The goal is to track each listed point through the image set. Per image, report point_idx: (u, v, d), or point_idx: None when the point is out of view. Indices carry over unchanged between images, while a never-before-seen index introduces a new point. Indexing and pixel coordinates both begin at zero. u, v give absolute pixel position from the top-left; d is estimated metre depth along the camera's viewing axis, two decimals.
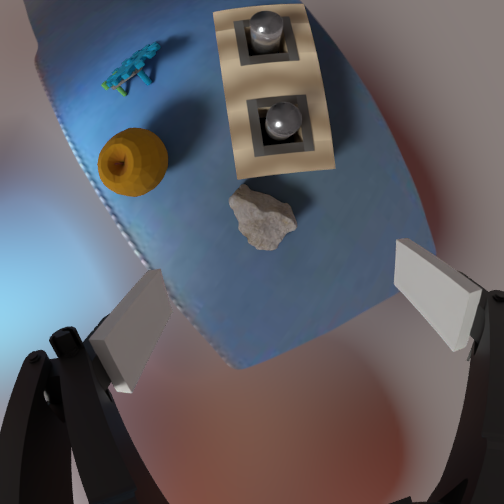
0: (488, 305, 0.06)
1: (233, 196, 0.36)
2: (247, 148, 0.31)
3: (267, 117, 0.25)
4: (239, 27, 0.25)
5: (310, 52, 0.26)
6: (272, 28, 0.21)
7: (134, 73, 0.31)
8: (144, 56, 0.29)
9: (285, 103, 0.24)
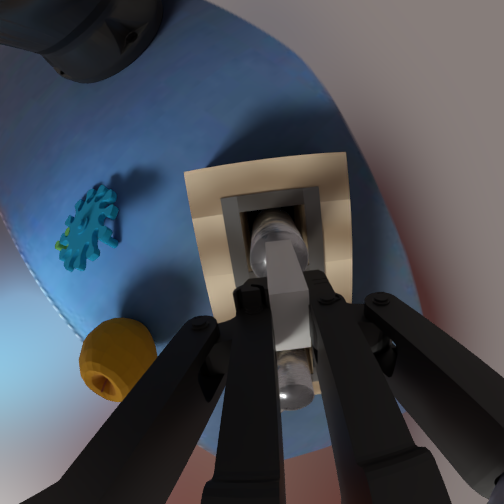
0: (314, 313, 0.09)
1: None
2: None
3: None
4: (232, 211, 0.20)
5: (343, 259, 0.21)
6: None
7: None
8: (97, 229, 0.24)
9: (296, 385, 0.19)
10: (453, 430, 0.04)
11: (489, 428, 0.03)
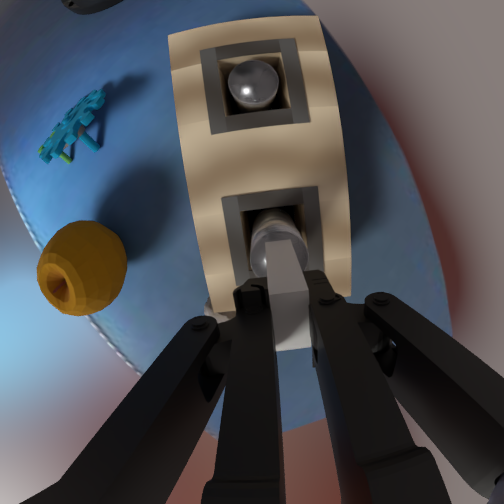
0: (314, 313, 0.09)
1: (208, 310, 0.27)
2: (225, 273, 0.22)
3: (251, 257, 0.17)
4: (210, 60, 0.16)
5: (328, 106, 0.17)
6: (262, 91, 0.17)
7: None
8: (81, 118, 0.20)
9: (282, 233, 0.16)
10: (453, 430, 0.04)
11: (489, 428, 0.03)
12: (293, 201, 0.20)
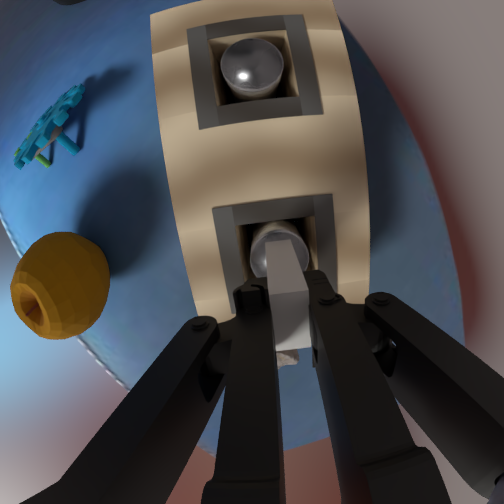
0: (314, 313, 0.09)
1: None
2: (218, 299, 0.18)
3: (251, 258, 0.17)
4: (199, 40, 0.13)
5: (345, 95, 0.14)
6: (262, 75, 0.13)
7: (50, 140, 0.19)
8: None
9: (282, 233, 0.16)
10: (453, 430, 0.04)
11: (489, 428, 0.03)
12: (302, 213, 0.16)
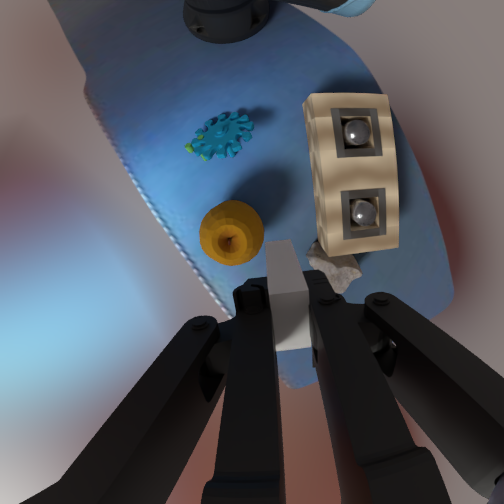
0: (314, 313, 0.09)
1: (314, 258, 0.43)
2: (338, 232, 0.39)
3: (355, 213, 0.37)
4: (335, 115, 0.33)
5: (390, 147, 0.34)
6: (362, 138, 0.34)
7: None
8: (238, 134, 0.37)
9: (367, 203, 0.37)
10: (453, 430, 0.04)
11: (489, 428, 0.03)
12: (374, 195, 0.36)
